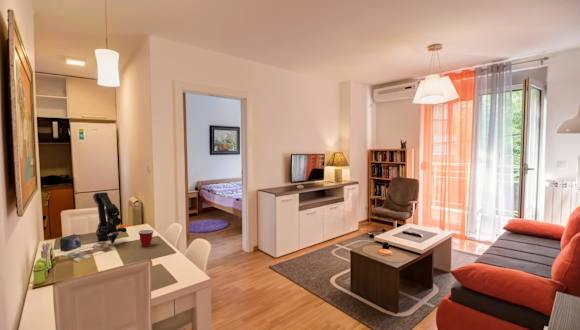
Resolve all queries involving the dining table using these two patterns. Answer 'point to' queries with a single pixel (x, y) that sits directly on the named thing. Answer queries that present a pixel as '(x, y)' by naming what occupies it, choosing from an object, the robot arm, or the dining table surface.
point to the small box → (70, 242)
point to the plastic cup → (146, 237)
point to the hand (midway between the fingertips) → (112, 243)
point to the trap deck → (84, 254)
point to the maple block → (100, 246)
